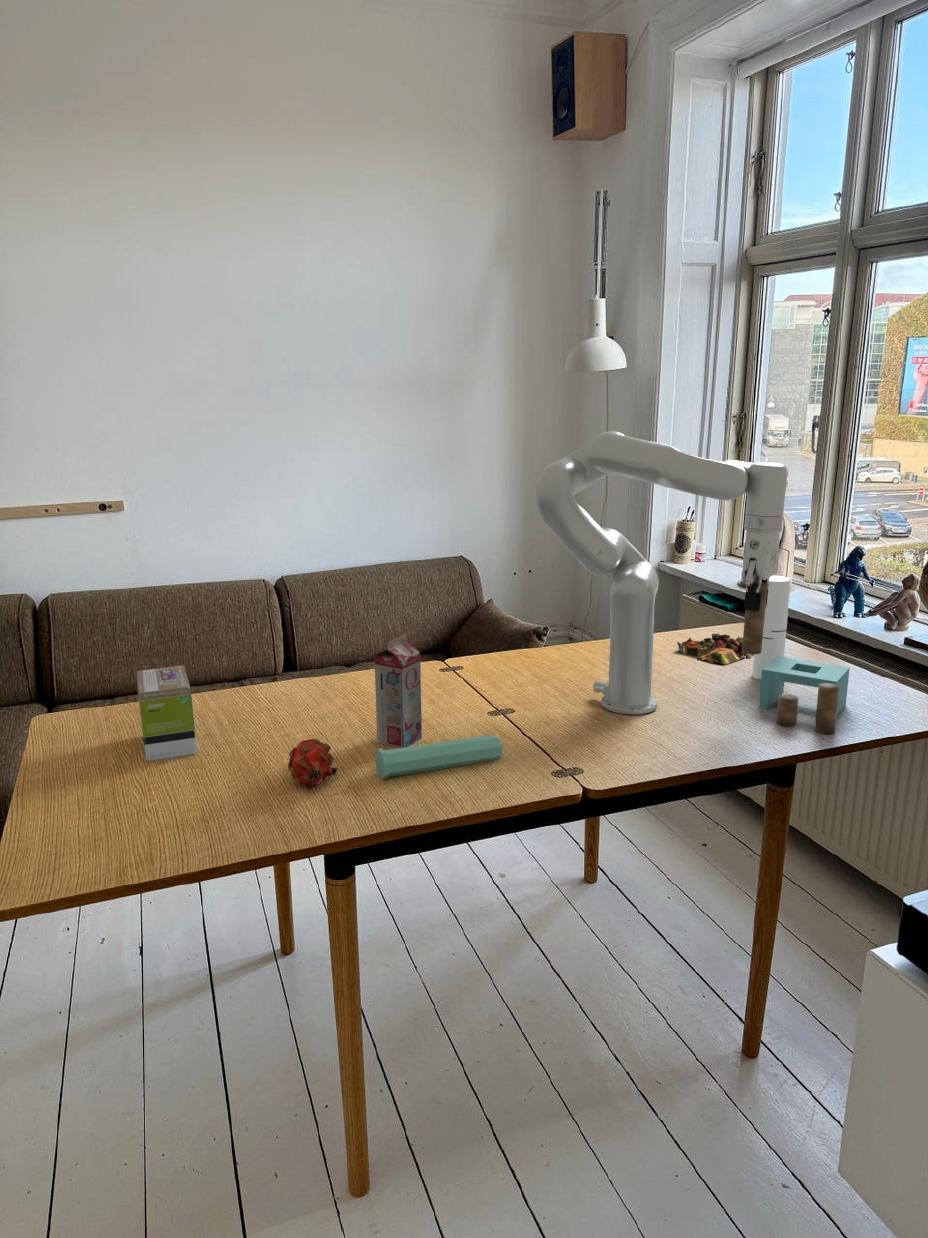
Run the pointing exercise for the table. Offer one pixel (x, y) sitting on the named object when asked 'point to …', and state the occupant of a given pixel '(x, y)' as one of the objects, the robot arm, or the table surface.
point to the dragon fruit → (311, 762)
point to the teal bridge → (800, 678)
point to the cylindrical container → (773, 624)
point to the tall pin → (755, 626)
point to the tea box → (166, 713)
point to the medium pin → (826, 708)
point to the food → (715, 649)
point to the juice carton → (398, 694)
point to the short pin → (787, 710)
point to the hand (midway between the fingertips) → (755, 607)
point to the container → (437, 755)
